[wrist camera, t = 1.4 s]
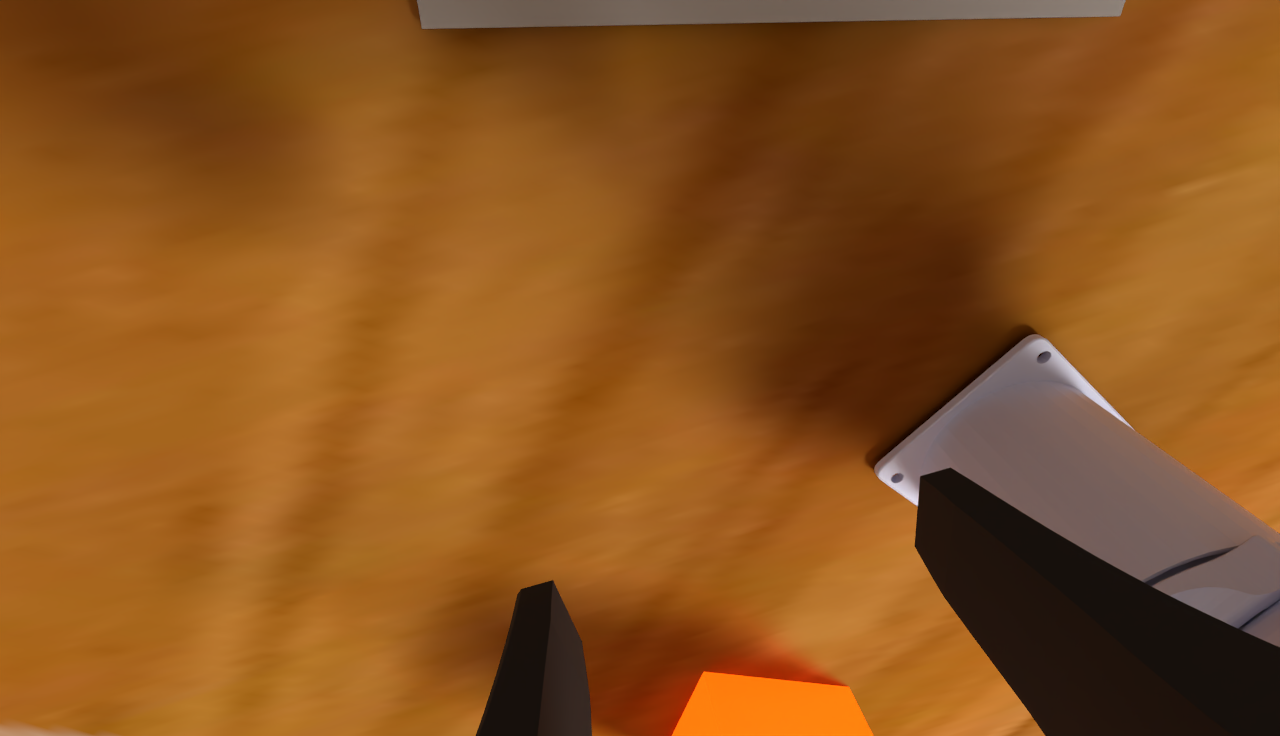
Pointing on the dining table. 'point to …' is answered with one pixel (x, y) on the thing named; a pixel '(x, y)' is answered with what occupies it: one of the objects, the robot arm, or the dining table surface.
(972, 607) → the robot arm
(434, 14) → the mat
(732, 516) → the dining table surface
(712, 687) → the orange juice
